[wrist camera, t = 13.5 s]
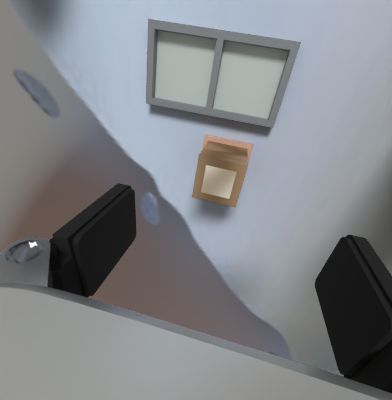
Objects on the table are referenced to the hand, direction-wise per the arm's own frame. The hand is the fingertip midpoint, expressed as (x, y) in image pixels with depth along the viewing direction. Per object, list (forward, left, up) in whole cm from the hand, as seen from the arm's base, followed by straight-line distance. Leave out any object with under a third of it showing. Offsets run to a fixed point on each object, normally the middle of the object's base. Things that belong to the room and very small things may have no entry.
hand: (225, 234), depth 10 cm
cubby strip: (+4, -6, -20) cm, 21 cm away
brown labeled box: (+1, +4, -19) cm, 19 cm away
